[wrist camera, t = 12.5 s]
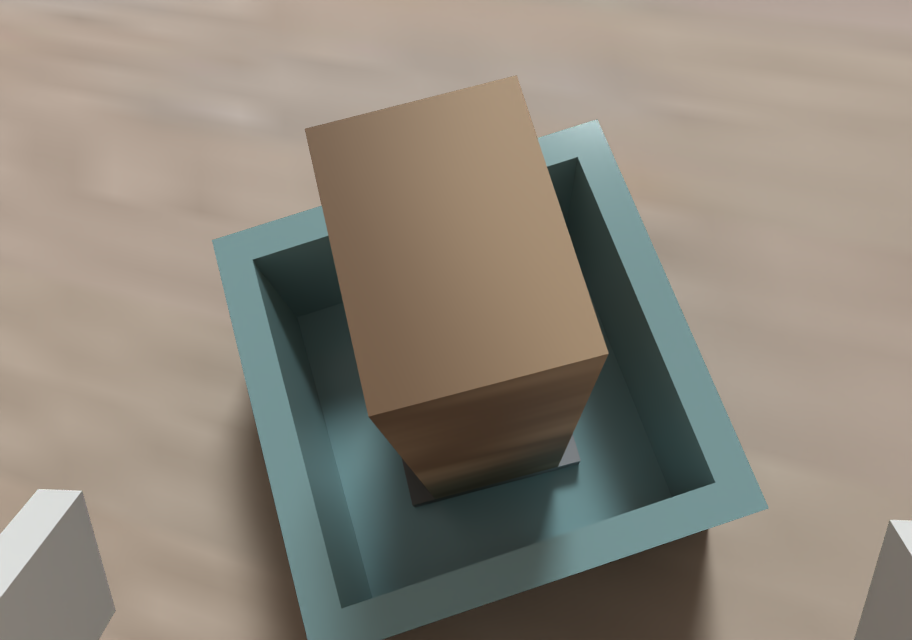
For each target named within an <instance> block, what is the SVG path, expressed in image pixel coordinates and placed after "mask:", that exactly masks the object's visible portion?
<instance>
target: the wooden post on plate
mask: <svg viewBox="0 0 912 640" xmlns="http://www.w3.org/2000/svg"><path fill="white" fill-rule="evenodd" d="M305 132H306V136H307V141H308V146H309V150H310V155H311V159H312V164H313V168H314V173H315V177H316V182H317V186H318V191H319V195H320V200H321V204H322V209H323V214H324V218H325V223H326V227H327V232H328V236H329V241H330V245H331V250H332V254H333V259H334V263H335V268H336V272H337V277H338V281H339V286H340V291H341V295H342V300H343V304H344V309H345V313H346V318H347V322H348V327H349V331H350V336H351V340H352V345H353V349H354V354H355V359H356V363H357V368H358V372H359V377H360V381H361V386H362V390H363V395H364V399H365V404H366V408H367V413H368V417H369V418H370V419H371V421H372V422H373V423H374V424H375V425H376V427H377V428H378V429H379V430H380V432H381V433H382V434H383V435H384V437H385V438H386V439H387V440H388V441H389V443H390V444H391V445H392V446H393V448H394V449H395V450H396V451H397V452H398V454H399V455H400V456H401V458H402V462H403V466H404V471H405V475H406V479H407V484H408V488H409V492H410V497H411V501H412V505H413V506H414V507H419V506H423V505H427V504H430V503H434V502H438V501H442V500H445V499H449V498H453V497H457V496H460V495H464V494H468V493H472V492H475V491H479V490H483V489H487V488H491V487H494V486H498V485H502V484H506V483H509V482H513V481H517V480H521V479H524V478H528V477H532V476H536V475H540V474H543V473H547V472H551V471H555V470H558V469H562V468H566V467H570V466H573V465H577V464H579V463H580V461H581V459H580V456H579V453H578V450H577V446H576V443H575V440H574V436H573V432H574V430H575V428H576V426H577V423H578V421H579V419H580V417H581V414H582V412H583V410H584V408H585V405H586V403H587V401H588V399H589V397H590V394H591V392H592V390H593V388H594V385H595V383H596V381H597V379H598V376H599V374H600V372H601V370H602V367H603V365H604V363H605V361H606V359H607V356H608V354H609V353H608V350H607V347H606V344H605V341H604V338H603V335H602V332H601V329H600V326H599V323H598V320H597V317H596V314H595V311H594V308H593V305H592V302H591V298H590V295H589V292H588V289H587V286H586V283H585V280H584V277H583V274H582V271H581V268H580V265H579V262H578V259H577V256H576V253H575V250H574V247H573V244H572V241H571V238H570V235H569V232H568V229H567V226H566V223H565V220H564V217H563V214H562V211H561V208H560V205H559V202H558V199H557V196H556V193H555V190H554V187H553V184H552V181H551V178H550V175H549V171H548V168H547V165H546V162H545V159H544V156H543V153H542V150H541V147H540V144H539V141H538V138H537V135H536V132H535V129H534V126H533V123H532V120H531V117H530V114H529V111H528V108H527V105H526V102H525V99H524V96H523V93H522V90H521V87H520V84H519V81H518V78H517V75H516V76H512V77H508V78H504V79H500V80H496V81H492V82H488V83H484V84H480V85H476V86H472V87H468V88H465V89H461V90H457V91H453V92H449V93H445V94H441V95H437V96H433V97H429V98H425V99H421V100H417V101H413V102H409V103H405V104H401V105H397V106H393V107H389V108H385V109H381V110H377V111H374V112H370V113H366V114H362V115H358V116H354V117H350V118H346V119H342V120H338V121H334V122H330V123H326V124H322V125H318V126H314V127H310V128H306V129H305Z"/></svg>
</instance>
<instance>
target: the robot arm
mask: <svg viewBox="0 0 912 640" xmlns="http://www.w3.org/2000/svg"><path fill="white" fill-rule="evenodd" d="M115 611H116V610H115V606H114V603H113V599H112V596H111V592H110V589H109V585H108V581H107V578H106V574H105V571H104V567H103V564H102V560H101V556H100V553H99V549H98V546H97V542H96V539H95V535H94V531H93V528H92V524H91V521H90V517H89V514H88V510H87V506H86V503H85V499H84V496H83V492H82V491H75V490H48V489H38V490H37V491H36V492H35V494H34V495H33V496H32V497H31V498H30V500H29V501H28V502H27V503H26V504H25V506H24V507H23V508H22V509H21V510H20V511H19V513H18V514H17V515H16V516H15V517H14V519H13V520H12V521H11V522H10V523H9V524H8V526H7V527H6V528H5V529H4V530H3V532H2V533H1V534H0V640H99V638H100V636H101V635H102V633H103V631H104V630H105V628H106V626H107V624H108V623H109V621H110V619H111V618H112V616H113V614H114V612H115ZM854 640H912V521H909V520H890V521H889V524H888V527H887V531H886V534H885V537H884V541H883V544H882V548H881V551H880V554H879V558H878V561H877V564H876V568H875V571H874V575H873V578H872V581H871V585H870V588H869V591H868V595H867V598H866V602H865V605H864V608H863V612H862V615H861V618H860V622H859V625H858V629H857V632H856V635H855V639H854Z"/></svg>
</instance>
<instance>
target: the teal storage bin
mask: <svg viewBox="0 0 912 640" xmlns="http://www.w3.org/2000/svg"><path fill="white" fill-rule="evenodd" d="M538 141H539V144H540V147H541V150H542V153H543V156H544V159H545V162H546V165H547V168H548V171H549V175H550V178H551V181H552V184H553V187H554V190H555V193H556V196H557V199H558V202H559V205H560V208H561V211H562V214H563V217H564V220H565V223H566V226H567V229H568V232H569V235H570V238H571V241H572V244H573V247H574V250H575V253H576V256H577V259H578V262H579V265H580V268H581V271H582V274H583V277H584V280H585V283H586V286H587V289H588V292H589V295H590V298H591V302H592V305H593V308H594V311H595V314H596V317H597V320H598V323H599V326H600V329H601V332H602V335H603V338H604V341H605V344H606V347H607V350H608V353H609V354H608V356H607V359H606V361H605V363H604V365H603V367H602V370H601V372H600V374H599V376H598V379H597V381H596V383H595V385H594V388H593V390H592V392H591V394H590V397H589V399H588V401H587V403H586V405H585V408H584V410H583V412H582V414H581V417H580V419H579V421H578V423H577V426H576V428H575V430H574V432H573V436H574V440H575V443H576V446H577V450H578V453H579V456H580V459H581V461H580V463H579V464H577V465H573V466H570V467H566V468H562V469H558V470H555V471H551V472H547V473H543V474H540V475H536V476H532V477H528V478H524V479H521V480H517V481H513V482H509V483H506V484H502V485H498V486H494V487H491V488H487V489H483V490H479V491H475V492H472V493H468V494H464V495H460V496H457V497H453V498H449V499H445V500H442V501H438V502H434V503H430V504H427V505H423V506H419V507H414V506H413V505H412V501H411V497H410V492H409V488H408V484H407V479H406V475H405V471H404V466H403V462H402V458H401V456H400V455H399V454H398V452H397V451H396V450H395V449H394V448H393V446H392V445H391V444H390V443H389V441H388V440H387V439H386V438H385V437H384V435H383V434H382V433H381V432H380V430H379V429H378V428H377V427H376V425H375V424H374V423H373V422H372V421H371V419H370V418H369V417H368V413H367V408H366V404H365V399H364V395H363V390H362V386H361V381H360V377H359V372H358V368H357V363H356V359H355V354H354V349H353V345H352V340H351V336H350V331H349V327H348V322H347V318H346V313H345V309H344V304H343V300H342V295H341V291H340V286H339V281H338V277H337V272H336V268H335V263H334V259H333V254H332V250H331V245H330V241H329V236H328V232H327V227H326V223H325V218H324V214H323V209H322V206H319V207H316V208H313V209H310V210H307V211H303V212H300V213H297V214H294V215H291V216H288V217H284V218H281V219H278V220H275V221H272V222H268V223H265V224H262V225H259V226H256V227H252V228H249V229H246V230H243V231H240V232H237V233H233V234H230V235H227V236H224V237H221V238H217V239H214V240H212V242H213V246H214V250H215V255H216V259H217V263H218V267H219V271H220V276H221V280H222V284H223V288H224V292H225V297H226V301H227V305H228V309H229V313H230V317H231V322H232V326H233V330H234V334H235V338H236V343H237V347H238V351H239V355H240V359H241V364H242V368H243V372H244V376H245V380H246V384H247V389H248V393H249V397H250V401H251V405H252V410H253V414H254V418H255V422H256V426H257V431H258V435H259V439H260V443H261V447H262V451H263V456H264V460H265V464H266V468H267V472H268V477H269V481H270V485H271V489H272V493H273V497H274V502H275V506H276V510H277V514H278V518H279V523H280V527H281V531H282V535H283V539H284V544H285V548H286V552H287V556H288V560H289V564H290V569H291V573H292V577H293V581H294V585H295V590H296V594H297V598H298V602H299V606H300V611H301V615H302V619H303V623H304V627H305V631H306V636H307V640H382V639H385V638H388V637H391V636H394V635H397V634H400V633H403V632H406V631H409V630H412V629H415V628H418V627H420V626H423V625H426V624H429V623H432V622H435V621H438V620H441V619H444V618H447V617H450V616H453V615H456V614H459V613H462V612H465V611H468V610H471V609H473V608H476V607H479V606H482V605H485V604H488V603H491V602H494V601H497V600H500V599H503V598H506V597H509V596H512V595H515V594H518V593H521V592H524V591H526V590H529V589H532V588H535V587H538V586H541V585H544V584H547V583H550V582H553V581H556V580H559V579H562V578H565V577H568V576H571V575H574V574H577V573H580V572H582V571H585V570H588V569H591V568H594V567H597V566H600V565H603V564H606V563H609V562H612V561H615V560H618V559H621V558H624V557H627V556H630V555H633V554H635V553H638V552H641V551H644V550H647V549H650V548H653V547H656V546H659V545H662V544H665V543H668V542H671V541H674V540H677V539H680V538H683V537H686V536H688V535H691V534H694V533H697V532H700V531H703V530H706V529H709V528H712V527H715V526H718V525H721V524H724V523H727V522H730V521H733V520H736V519H739V518H742V517H744V516H747V515H750V514H753V513H756V512H759V511H762V510H765V509H768V505H767V503H766V501H765V499H764V496H763V494H762V492H761V489H760V487H759V485H758V483H757V480H756V478H755V476H754V474H753V471H752V469H751V467H750V464H749V462H748V460H747V458H746V455H745V453H744V451H743V449H742V446H741V444H740V442H739V440H738V437H737V435H736V433H735V430H734V428H733V426H732V424H731V421H730V419H729V417H728V415H727V412H726V410H725V408H724V406H723V403H722V401H721V399H720V396H719V394H718V392H717V390H716V387H715V385H714V383H713V381H712V378H711V376H710V374H709V372H708V369H707V367H706V365H705V362H704V360H703V358H702V356H701V353H700V351H699V349H698V347H697V344H696V342H695V340H694V337H693V335H692V333H691V331H690V328H689V326H688V324H687V322H686V319H685V317H684V315H683V313H682V310H681V308H680V306H679V303H678V301H677V299H676V297H675V294H674V292H673V290H672V288H671V285H670V283H669V281H668V279H667V276H666V274H665V272H664V269H663V267H662V265H661V263H660V260H659V258H658V256H657V254H656V251H655V249H654V247H653V244H652V242H651V240H650V238H649V235H648V233H647V231H646V229H645V226H644V224H643V222H642V220H641V217H640V215H639V213H638V210H637V208H636V206H635V204H634V201H633V199H632V197H631V195H630V192H629V190H628V188H627V186H626V183H625V181H624V179H623V176H622V174H621V172H620V170H619V167H618V165H617V163H616V161H615V158H614V156H613V154H612V151H611V149H610V147H609V145H608V142H607V140H606V138H605V136H604V133H603V131H602V129H601V127H600V124H599V122H598V120H594V121H590V122H587V123H584V124H581V125H578V126H574V127H571V128H568V129H565V130H562V131H558V132H555V133H552V134H549V135H546V136H543V137H539V138H538Z"/></svg>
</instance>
